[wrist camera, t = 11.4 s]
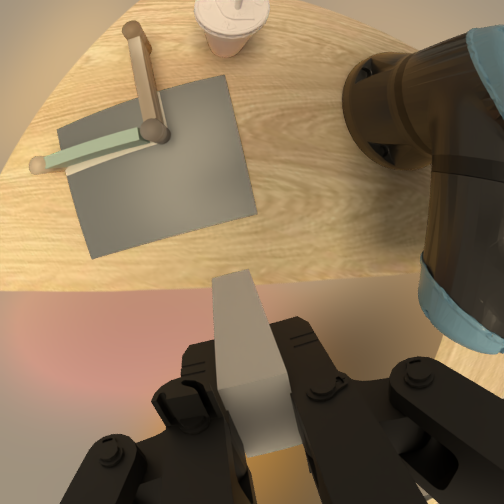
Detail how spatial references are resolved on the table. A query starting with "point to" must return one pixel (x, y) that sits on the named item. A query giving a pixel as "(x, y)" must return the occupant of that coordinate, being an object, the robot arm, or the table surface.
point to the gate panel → (86, 151)
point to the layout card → (161, 170)
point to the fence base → (145, 84)
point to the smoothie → (230, 22)
